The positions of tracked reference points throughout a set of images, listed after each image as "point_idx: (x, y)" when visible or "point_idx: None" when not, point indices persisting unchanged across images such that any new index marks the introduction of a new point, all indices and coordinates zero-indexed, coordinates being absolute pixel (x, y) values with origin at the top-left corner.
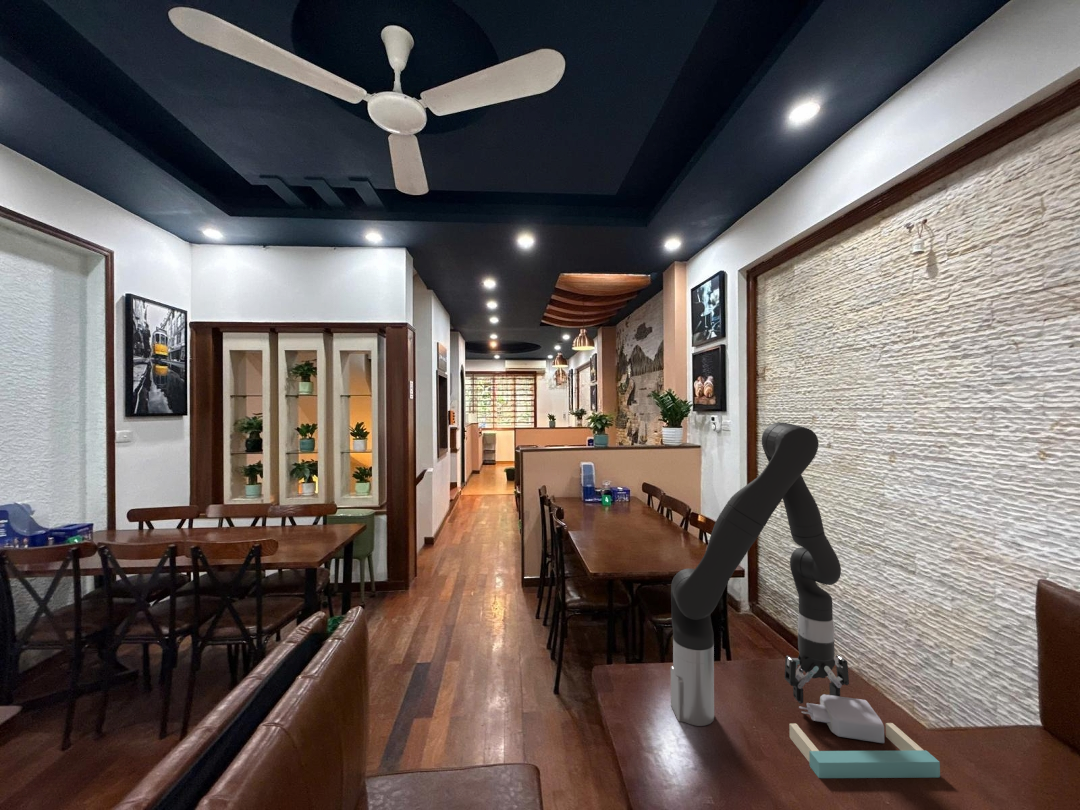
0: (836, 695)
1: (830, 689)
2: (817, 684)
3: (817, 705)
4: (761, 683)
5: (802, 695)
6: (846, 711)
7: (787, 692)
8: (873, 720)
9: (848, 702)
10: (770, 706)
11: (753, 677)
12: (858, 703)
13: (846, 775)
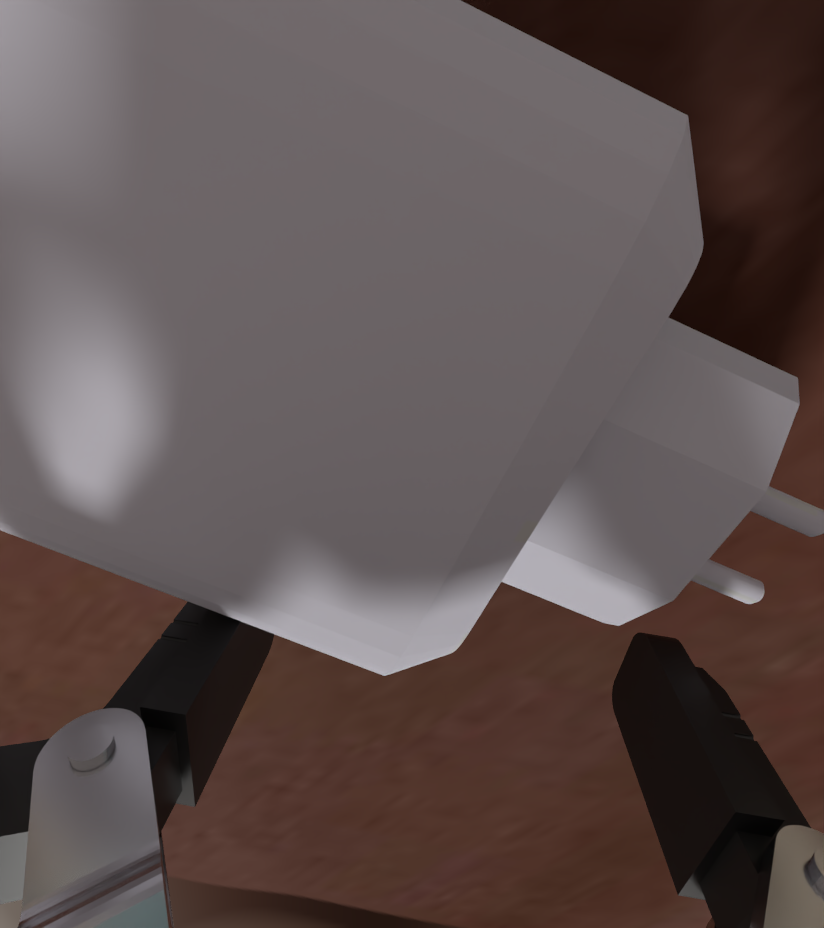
0: (224, 628)
1: (231, 715)
2: (218, 766)
3: (592, 552)
4: (618, 851)
5: (696, 713)
6: (372, 257)
7: (510, 758)
8: None
9: (163, 467)
10: (818, 680)
11: (617, 895)
12: (16, 421)
13: None
